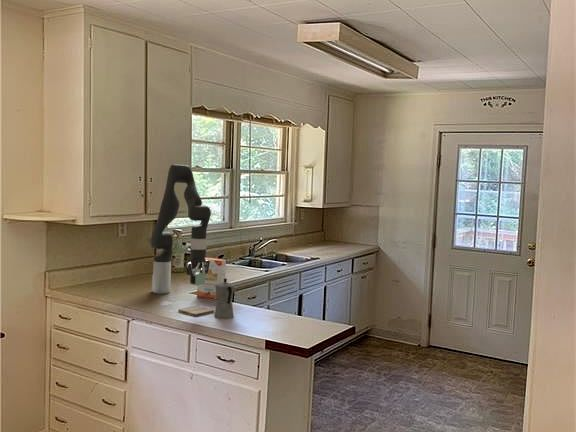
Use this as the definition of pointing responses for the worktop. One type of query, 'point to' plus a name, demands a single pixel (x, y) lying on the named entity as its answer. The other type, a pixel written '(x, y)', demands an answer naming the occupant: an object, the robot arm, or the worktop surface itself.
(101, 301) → the worktop surface
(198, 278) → the sage block
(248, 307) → the worktop surface
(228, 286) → the coffeepot
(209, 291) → the cracker box
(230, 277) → the worktop surface
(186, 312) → the walnut board
